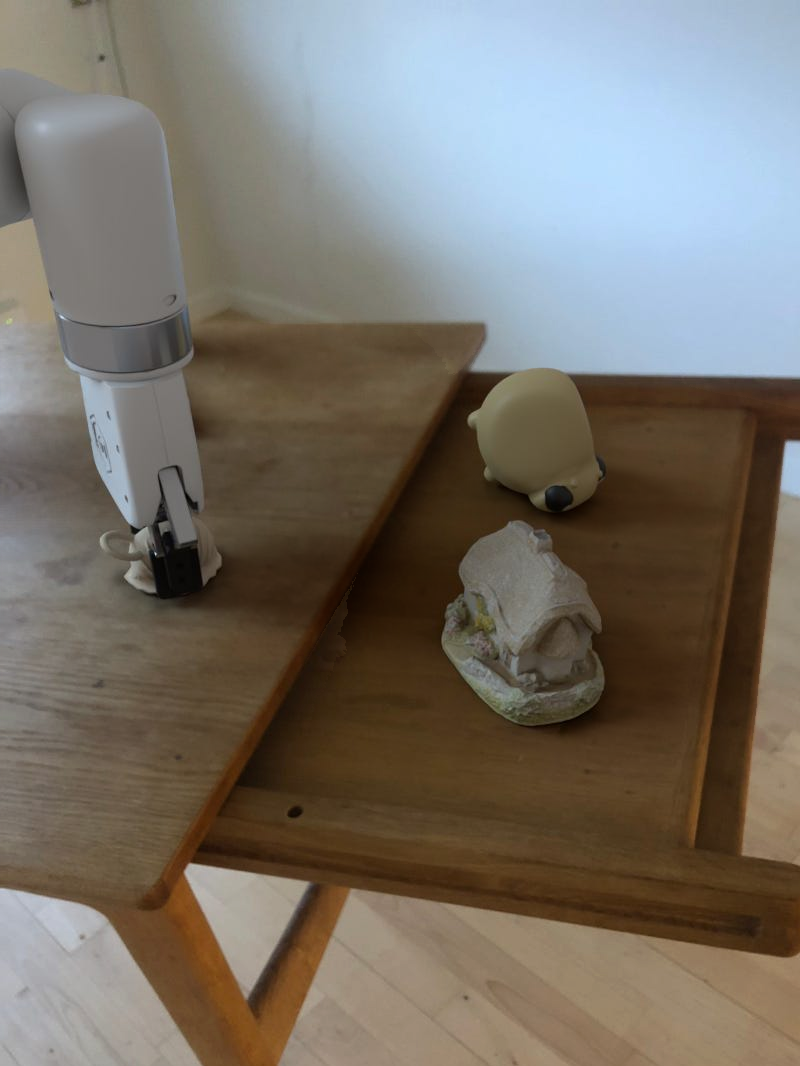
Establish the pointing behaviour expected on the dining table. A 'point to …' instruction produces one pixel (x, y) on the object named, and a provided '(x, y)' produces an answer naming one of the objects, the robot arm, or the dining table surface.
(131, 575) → the decorative ornament
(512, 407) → the toy pig
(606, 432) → the dining table surface
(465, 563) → the ceramic model
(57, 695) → the dining table surface
